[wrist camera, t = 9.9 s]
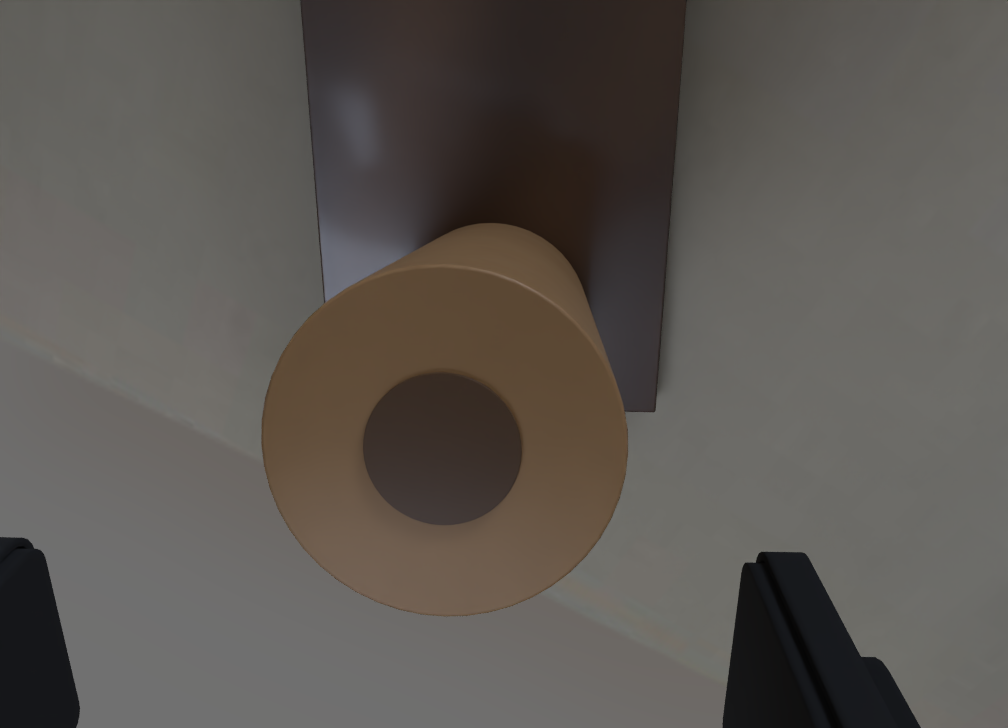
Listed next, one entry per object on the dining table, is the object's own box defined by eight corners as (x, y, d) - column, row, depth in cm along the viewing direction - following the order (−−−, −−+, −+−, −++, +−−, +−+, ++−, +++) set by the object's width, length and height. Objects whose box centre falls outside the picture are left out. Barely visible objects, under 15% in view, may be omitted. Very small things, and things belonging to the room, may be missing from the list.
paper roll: (393, 221, 24) (396, 411, 25) (248, 261, 12) (266, 614, 13) (591, 224, 24) (584, 415, 25) (637, 267, 12) (621, 626, 13)
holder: (339, 392, 27) (331, 405, 26) (283, -353, 20) (270, -371, 19) (652, 399, 27) (655, 413, 26) (707, -359, 20) (715, -379, 19)
